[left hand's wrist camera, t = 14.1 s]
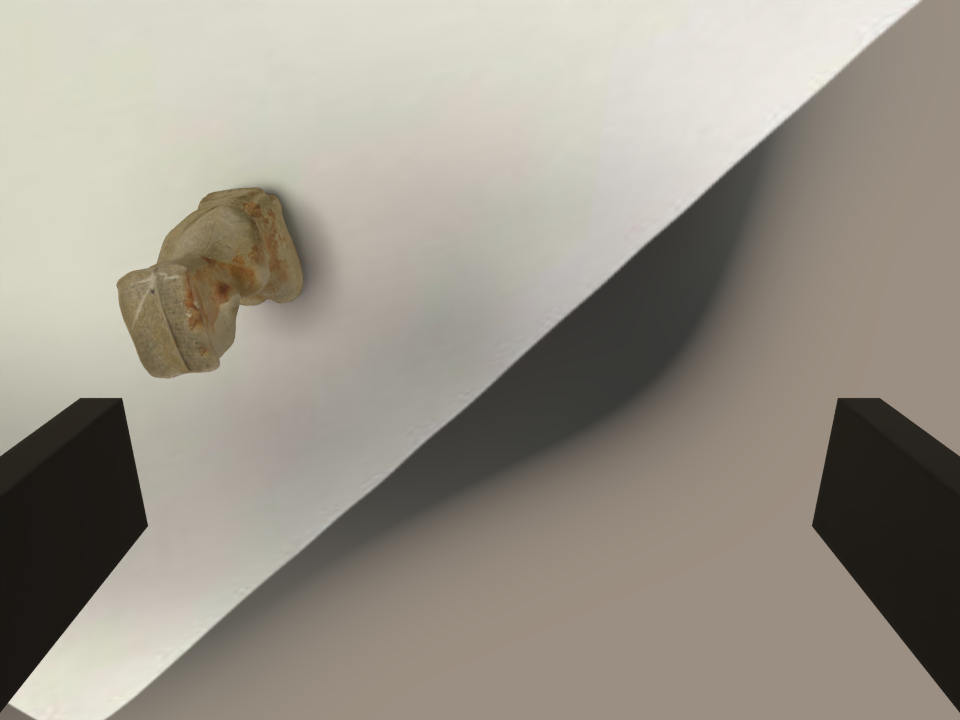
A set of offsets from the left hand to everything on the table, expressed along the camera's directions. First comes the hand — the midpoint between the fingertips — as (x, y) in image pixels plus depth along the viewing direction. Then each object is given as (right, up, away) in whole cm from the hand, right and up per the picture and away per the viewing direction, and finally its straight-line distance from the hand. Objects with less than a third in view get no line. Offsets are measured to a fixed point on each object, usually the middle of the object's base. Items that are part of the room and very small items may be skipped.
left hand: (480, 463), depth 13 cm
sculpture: (-14, +9, +30) cm, 34 cm away
